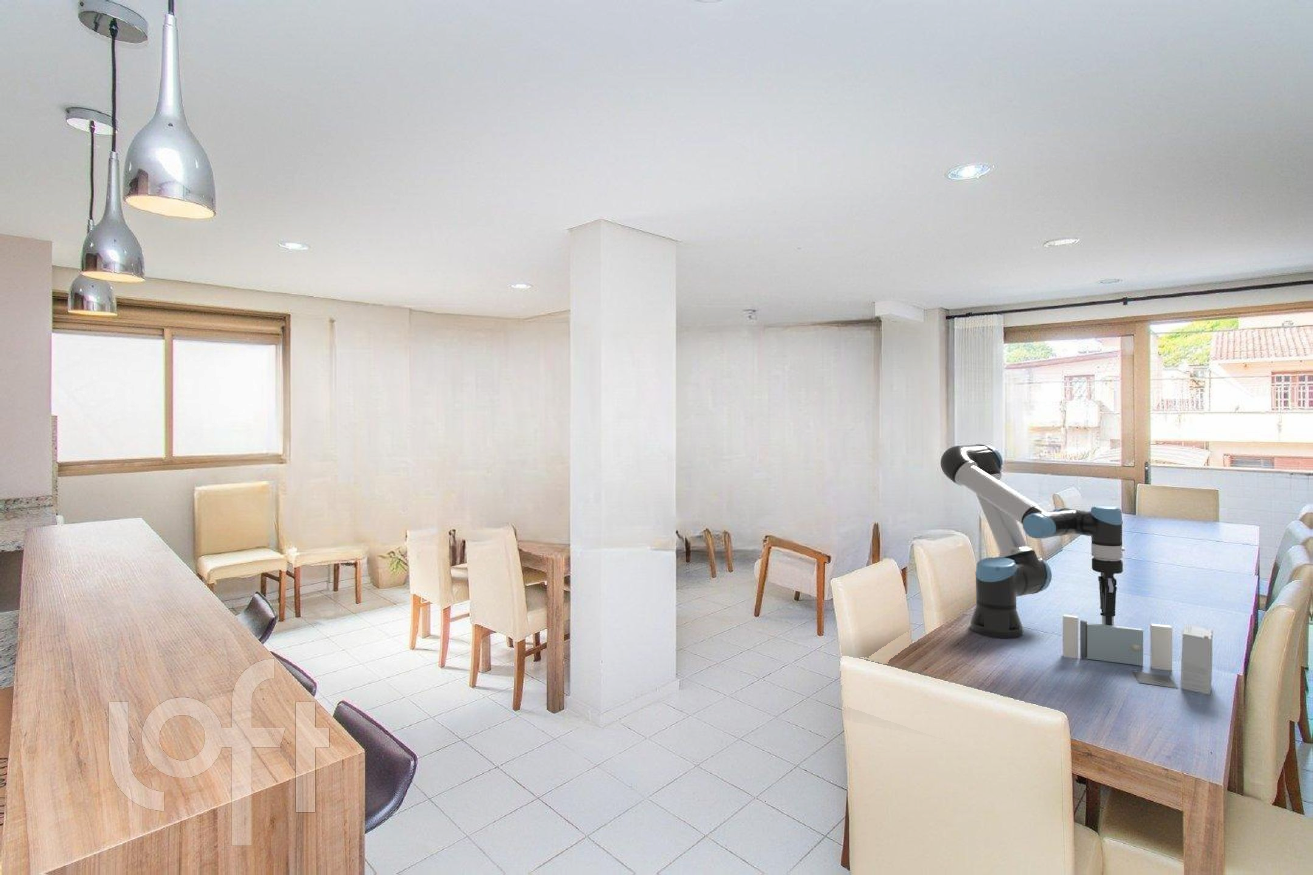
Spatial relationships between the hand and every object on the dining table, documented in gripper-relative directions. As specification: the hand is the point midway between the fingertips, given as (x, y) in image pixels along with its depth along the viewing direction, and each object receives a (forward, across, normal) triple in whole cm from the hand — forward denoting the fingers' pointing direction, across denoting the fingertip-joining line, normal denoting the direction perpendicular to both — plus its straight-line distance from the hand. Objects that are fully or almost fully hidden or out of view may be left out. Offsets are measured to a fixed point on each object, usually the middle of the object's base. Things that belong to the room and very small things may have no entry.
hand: (1107, 636), depth 187 cm
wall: (+5, -9, -1) cm, 10 cm away
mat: (+5, -19, -7) cm, 21 cm away
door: (+4, -10, +1) cm, 10 cm away
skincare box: (+5, -20, -16) cm, 26 cm away
